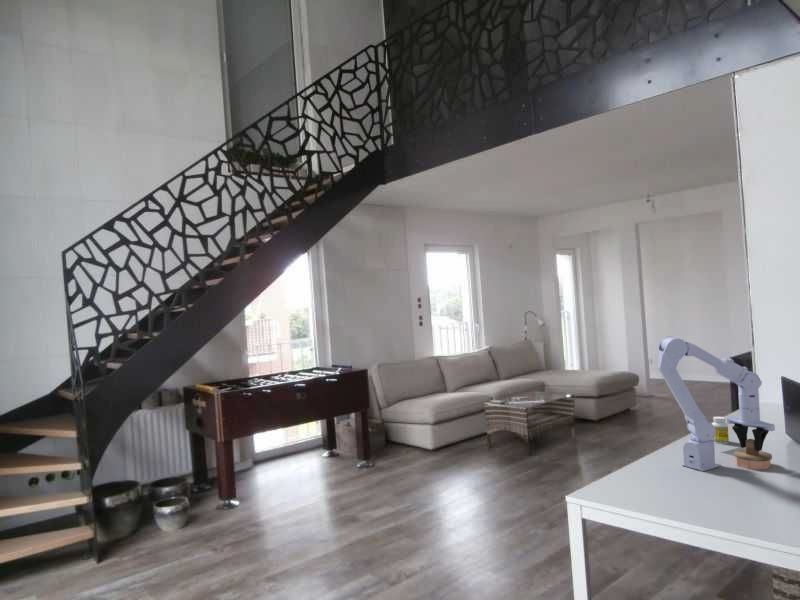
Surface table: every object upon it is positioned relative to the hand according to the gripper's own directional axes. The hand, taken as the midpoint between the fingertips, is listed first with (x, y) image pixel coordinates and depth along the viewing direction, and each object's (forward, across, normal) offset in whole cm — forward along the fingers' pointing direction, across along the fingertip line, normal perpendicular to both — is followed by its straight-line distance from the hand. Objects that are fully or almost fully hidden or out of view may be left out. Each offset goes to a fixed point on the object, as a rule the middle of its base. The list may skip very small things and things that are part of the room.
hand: (751, 448), depth 184 cm
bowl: (+6, 0, 0) cm, 6 cm away
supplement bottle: (+6, +23, -18) cm, 30 cm away
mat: (+6, +9, -11) cm, 15 cm away
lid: (+3, 0, 0) cm, 3 cm away
